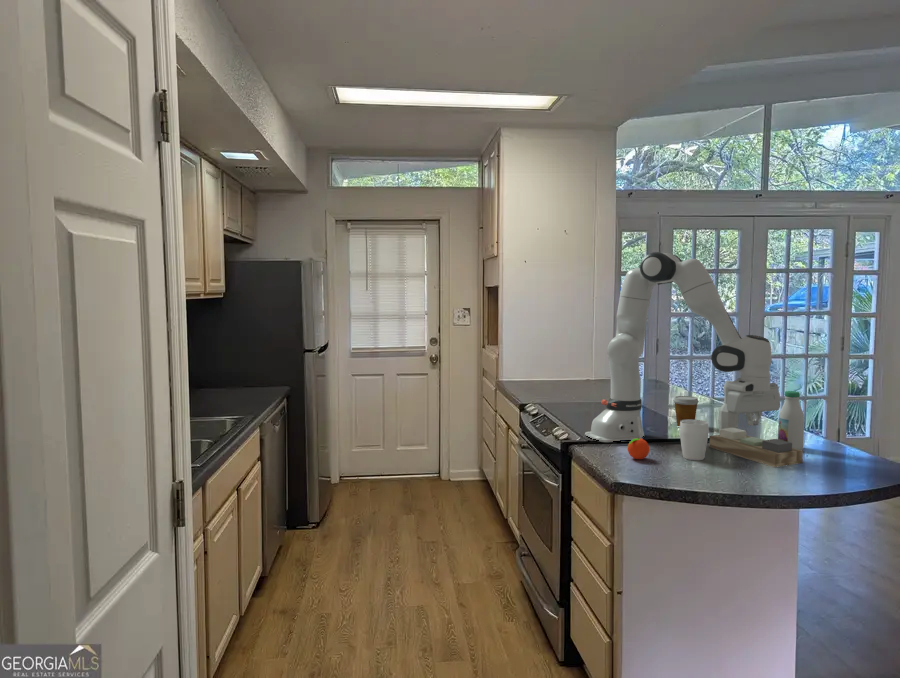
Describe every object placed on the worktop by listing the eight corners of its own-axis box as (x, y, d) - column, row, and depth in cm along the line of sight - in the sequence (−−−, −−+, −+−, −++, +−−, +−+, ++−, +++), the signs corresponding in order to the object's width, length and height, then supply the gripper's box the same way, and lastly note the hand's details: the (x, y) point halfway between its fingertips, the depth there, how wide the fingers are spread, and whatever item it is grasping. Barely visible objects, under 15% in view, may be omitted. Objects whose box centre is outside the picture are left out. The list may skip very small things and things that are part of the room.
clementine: (635, 463, 198) (635, 441, 198) (620, 458, 204) (620, 437, 204) (653, 460, 202) (654, 438, 201) (638, 455, 208) (638, 434, 208)
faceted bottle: (728, 438, 230) (729, 379, 228) (741, 441, 224) (742, 382, 222) (714, 439, 228) (715, 380, 227) (727, 443, 222) (728, 383, 221)
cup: (707, 455, 207) (708, 420, 206) (709, 462, 198) (709, 425, 197) (678, 453, 210) (679, 418, 209) (679, 460, 201) (679, 424, 200)
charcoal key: (777, 457, 195) (778, 444, 194) (762, 452, 200) (762, 440, 200) (791, 455, 197) (792, 442, 196) (775, 450, 202) (776, 438, 202)
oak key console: (774, 467, 192) (775, 454, 192) (709, 447, 217) (709, 436, 217) (802, 463, 197) (802, 450, 196) (735, 443, 222) (735, 432, 221)
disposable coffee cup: (701, 429, 244) (702, 399, 244) (677, 429, 245) (678, 399, 244) (692, 424, 254) (693, 395, 253) (669, 424, 254) (670, 395, 253)
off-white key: (732, 444, 211) (733, 432, 211) (719, 440, 217) (719, 429, 217) (746, 442, 213) (746, 431, 213) (732, 438, 219) (732, 427, 219)
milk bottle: (802, 447, 216) (803, 390, 215) (804, 452, 209) (806, 394, 208) (777, 444, 220) (778, 389, 218) (778, 450, 213) (780, 392, 211)
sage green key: (754, 454, 203) (754, 442, 203) (739, 450, 209) (740, 438, 208) (767, 452, 205) (768, 440, 205) (753, 448, 211) (753, 436, 210)
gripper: (770, 381, 212) (768, 420, 213) (724, 384, 204) (722, 425, 206) (786, 383, 206) (784, 424, 207) (739, 387, 199) (737, 429, 200)
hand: (753, 425), depth 206 cm, fingers closed
